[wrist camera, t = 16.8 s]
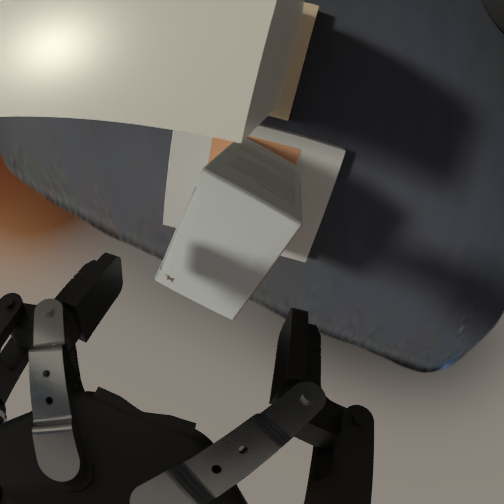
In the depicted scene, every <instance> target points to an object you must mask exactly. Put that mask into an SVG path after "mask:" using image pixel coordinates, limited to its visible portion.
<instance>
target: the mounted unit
mask: <svg viewBox="0 0 504 504" xmlns="http://www.w3.org/2000/svg"><path fill="white" fill-rule="evenodd" d="M318 8H319V6H317V5H314V4H310V3H306V2H304V0H0V117H5V116H36V117H63V118H79V119H92V120H103V121H112V122H121V123H129V124H137V125H144V126H151V127H158V128H164V129H171V130H176V131H182V132H188V133H193V134H198V135H204V136H209V137H213V138H218V139H223V140H228V141H232V142H236V143H242V142H243V141H244V140H245V139H246V138H247V137H248V136H249V135H250V134H251V133H252V132H253V131H254V130H255V128H256V127H257V126H258V125H259V124H260V123H261V122H262V121H263V120H264V119H265V118H266V117H267V116H271V117H275V118H279V119H283V120H286V121H288V119H289V116H290V112H291V108H292V105H293V101H294V97H295V93H296V90H297V86H298V82H299V79H300V75H301V71H302V67H303V64H304V60H305V56H306V52H307V49H308V45H309V41H310V38H311V34H312V30H313V26H314V23H315V19H316V15H317V11H318Z"/></svg>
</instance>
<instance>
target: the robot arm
mask: <svg viewBox="0 0 504 504" xmlns="http://www.w3.org/2000/svg"><path fill="white" fill-rule="evenodd" d="M483 3H484V5H485V7H486V9H487V11H488V13H489V14H490V16H491V17H492V19H493V20H494V22H495V23H496V24H497V26H498V27H499V28H500V29H501V30H502V31H503V32H504V0H483ZM122 284H123V279H122V267H121V259H120V257H117V256H115V255H112V254H109V253H104V254H103V255H102V256H101V257H100V258H99V259H98V260H97V261H95V260H93V261H91V262H89V263H87V264H85V265H84V266H83V267H82V268H81V269H80V271H79V272H78V273H77V274H76V275H75V276H74V277H73V279H71V280H70V281H69V283H68V284H67V285H66V286H65V287H64V288H63V289H62V291H61V292H60V293H59V294H58V295H57V296H56V298H55V299H45V300H43V301H41V302H40V303H39V304H38V305H32V304H26V303H23V301H22V299H21V297H20V295H18V294H16V293H9V294H7V295H5V296H3V297H2V298H1V299H0V350H1V347H2V346H3V344H4V343H5V341H6V340H7V338H8V337H9V335H10V334H11V336H12V337H11V338H10V340H9V341H8V343H7V344H6V346H5V347H4V349H3V350H2V352H1V353H0V504H247V502H246V500H245V498H244V497H243V495H242V493H241V491H240V490H239V488H238V486H237V483H238V482H240V481H241V480H242V479H244V478H245V477H246V476H248V475H249V474H250V473H252V472H253V471H254V470H255V469H257V468H258V467H259V466H260V465H261V464H263V463H264V462H265V461H266V460H267V459H269V458H270V457H271V456H272V455H273V454H275V453H276V452H277V451H278V450H279V449H280V448H281V447H283V446H284V445H285V444H286V443H287V442H288V441H289V440H290V439H292V437H296V438H298V439H300V440H303V441H305V442H307V443H309V444H311V445H313V453H312V460H311V466H310V473H309V479H308V485H307V491H306V496H305V502H304V504H371V493H372V479H373V459H374V457H373V456H374V419H373V416H372V414H371V412H370V411H369V410H368V409H367V408H365V407H363V406H360V405H352V406H350V407H348V408H345V407H343V406H341V405H338V404H336V403H334V402H332V401H330V400H329V399H328V398H327V397H326V396H325V393H324V391H323V390H322V389H321V355H320V354H321V347H320V346H321V335H320V333H319V331H318V329H317V326H316V325H312V324H308V311H304V310H300V309H296V308H291V309H290V311H289V313H288V315H287V318H286V320H285V322H284V325H283V327H282V329H281V332H280V335H279V339H278V345H277V352H276V360H275V368H274V375H273V382H272V389H271V396H270V402H269V404H272V405H271V406H269V407H268V408H267V409H265V410H264V411H263V412H261V413H260V414H255V415H254V416H252V417H251V418H249V419H248V420H247V421H245V422H244V423H242V424H241V425H240V426H239V427H237V428H236V429H234V430H233V431H231V432H230V433H229V434H227V435H226V436H224V437H223V438H221V439H220V440H218V441H217V442H215V443H214V444H213V442H212V441H211V440H210V439H209V438H207V437H206V436H205V435H204V434H202V433H201V432H199V431H198V430H196V429H195V426H196V423H193V422H190V421H187V420H183V419H180V418H177V417H174V416H171V415H163V414H154V413H147V412H142V411H140V410H139V409H137V408H136V407H135V406H133V405H132V404H130V403H129V402H127V401H126V400H125V399H123V398H122V397H120V396H119V395H116V394H114V393H112V392H109V391H107V390H105V389H103V388H100V387H98V388H97V390H96V392H91V391H86V392H85V391H84V388H83V385H82V382H81V378H80V371H79V365H78V358H77V350H76V345H75V343H76V342H77V340H78V339H80V340H82V341H84V342H87V341H88V339H89V338H90V336H91V334H92V333H93V331H94V330H95V328H96V327H97V325H98V324H99V322H100V321H101V320H102V318H103V317H104V315H105V314H106V312H107V311H108V309H109V308H110V306H111V305H112V304H113V302H114V301H115V299H116V298H117V297H118V295H119V293H120V292H121V289H122ZM28 361H29V379H30V393H31V404H32V411H31V412H29V413H26V414H24V415H21V416H19V417H17V418H14V419H11V420H9V421H6V420H7V416H6V407H5V403H6V401H7V399H8V397H9V395H10V393H11V391H12V389H13V388H14V385H15V384H16V382H17V380H18V379H19V377H20V375H21V373H22V371H23V370H24V368H25V366H26V365H27V363H28Z"/></svg>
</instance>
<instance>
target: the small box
mask: <svg viewBox="0 0 504 504" xmlns="http://www.w3.org/2000/svg"><path fill="white" fill-rule="evenodd" d="M301 226H302V199H301V179H300V168H299V167H297V166H296V165H294V164H292V163H291V162H289V161H287V160H286V159H284V158H282V157H281V156H279V155H277V154H275V153H273V152H272V151H270V150H268V149H266V148H264V147H263V146H261V145H259V144H257V143H255V142H254V141H252V140H250V139H248V138H246V139H245V140H244V141H243V142H242V143H236V142H232V143H231V144H230V145H229V146H227V147H226V148H225V149H224V150H223V151H222V152H220V153H219V154H218V155H217V156H216V157H215V158H214V159H212V160H211V161H210V162H209V163H208V164H207V165H206V166H204V167H203V168H202V169H201V171H200V174H199V176H198V179H197V181H196V184H195V186H194V189H193V191H192V194H191V196H190V198H189V201H188V203H187V205H186V208H185V210H184V212H183V214H182V217H181V219H180V221H179V223H178V226H177V228H176V231H175V233H174V235H173V238H172V240H171V242H170V245H169V247H168V249H167V252H166V254H165V257H164V259H163V261H162V263H161V265H160V268H159V270H158V272H157V274H156V276H155V280H156V281H158V282H160V283H161V284H163V285H165V286H167V287H168V288H170V289H172V290H174V291H176V292H178V293H180V294H181V295H183V296H185V297H187V298H189V299H191V300H193V301H195V302H197V303H199V304H201V305H203V306H205V307H207V308H209V309H211V310H213V311H215V312H217V313H219V314H221V315H223V316H225V317H227V318H229V319H232V320H234V319H235V317H236V316H237V315H238V313H239V312H240V311H241V309H242V308H243V306H244V305H245V304H246V302H247V301H248V300H249V298H250V297H251V296H252V294H253V293H254V292H255V290H256V289H257V287H258V286H259V285H260V283H261V282H262V280H263V279H264V278H265V276H266V275H267V274H268V272H269V271H270V269H271V268H272V267H273V265H274V264H275V262H276V261H277V260H278V258H279V257H280V256H281V254H282V253H283V251H284V250H285V249H286V247H287V246H288V244H289V243H290V242H291V240H292V239H293V237H294V236H295V234H296V233H297V232H298V230H299V229H300V228H301Z"/></svg>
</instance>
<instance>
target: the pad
mask: <svg viewBox="0 0 504 504" xmlns="http://www.w3.org/2000/svg"><path fill="white" fill-rule="evenodd" d="M247 138H248V139H250V140H252V141H254V142H255V143H257V144H259V145H261V146H263V147H264V148H266V149H268V150H270V151H272V152H273V153H275V154H277V155H279V156H281V157H282V158H284V159H286V160H287V161H289V162H291V163H292V164H294V165H296V166H297V167H299V168H300V179H301V199H302V226H301V228H300V229H299V230H298V232H297V233H296V234H295V236H294V237H293V239H292V240H291V242H290V243H289V244H288V246H287V247H286V249H285V250H284V251H283V253H282V254H281V256H284V257H287V258H291V259H295V260H298V261H302V262H306V260H307V257H308V254H309V252H310V249H311V247H312V244H313V241H314V239H315V236H316V234H317V231H318V228H319V226H320V223H321V220H322V218H323V215H324V212H325V209H326V207H327V204H328V201H329V198H330V196H331V193H332V190H333V187H334V184H335V181H336V178H337V176H338V173H339V170H340V167H341V164H342V161H343V158H344V155H345V152H346V150H345V149H344V148H342V147H339V146H336V145H333V144H330V143H327V142H324V141H321V140H318V139H314V138H311V137H308V136H304V135H301V134H297V133H294V132H290V131H286V130H283V129H279V128H275V127H271V126H267V125H263V124H259V125H258V126H257V127H256V128H255V130H254V131H253V132H252V133H251V134H250V135H249V136H248V137H247ZM231 143H232V141H228V140H223V139H218V138H213V137H209V136H204V135H198V134H193V133H188V132H182V131H176V130H173V135H172V142H171V150H170V157H169V166H168V174H167V184H166V194H165V204H164V216H163V225H167V226H171V227H175V228H177V226H178V223H179V221H180V219H181V217H182V214H183V212H184V210H185V208H186V205H187V203H188V201H189V198H190V196H191V194H192V191H193V189H194V186H195V184H196V181H197V179H198V176H199V174H200V171H201V169H202V168H203V167H204V166H206V165H207V164H208V163H209V162H210V161H211V160H212V159H214V158H215V157H216V156H217V155H218V154H219V153H220V152H222V151H223V150H224V149H225V148H226V147H227V146H229V145H230V144H231Z"/></svg>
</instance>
